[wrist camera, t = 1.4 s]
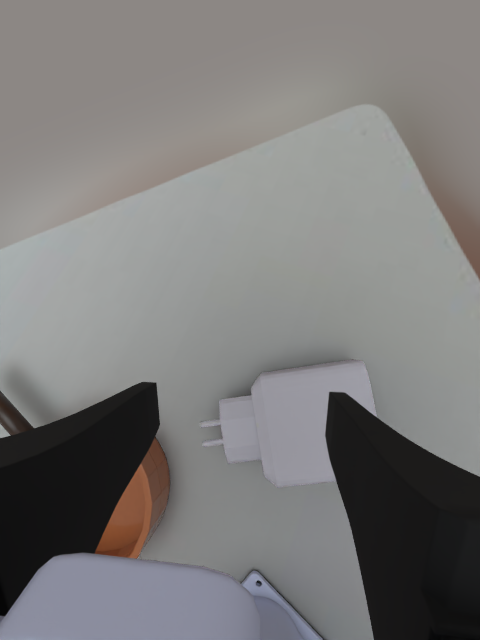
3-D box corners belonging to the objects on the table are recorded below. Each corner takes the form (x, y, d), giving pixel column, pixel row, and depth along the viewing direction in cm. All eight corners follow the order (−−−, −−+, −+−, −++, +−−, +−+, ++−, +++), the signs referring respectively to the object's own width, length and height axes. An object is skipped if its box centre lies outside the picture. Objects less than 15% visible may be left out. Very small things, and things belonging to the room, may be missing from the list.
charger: (201, 380, 29) (350, 359, 28) (213, 475, 28) (369, 457, 27) (187, 386, 24) (366, 360, 23) (202, 500, 23) (390, 480, 22)
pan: (197, 479, 28) (184, 504, 24) (105, 585, 28) (74, 630, 24) (103, 384, 30) (75, 390, 26) (17, 482, 30) (-27, 505, 26)
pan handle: (53, 443, 27) (39, 449, 26) (42, 455, 27) (28, 462, 26) (-15, 368, 29) (-31, 369, 27) (-25, 380, 29) (-43, 382, 27)
